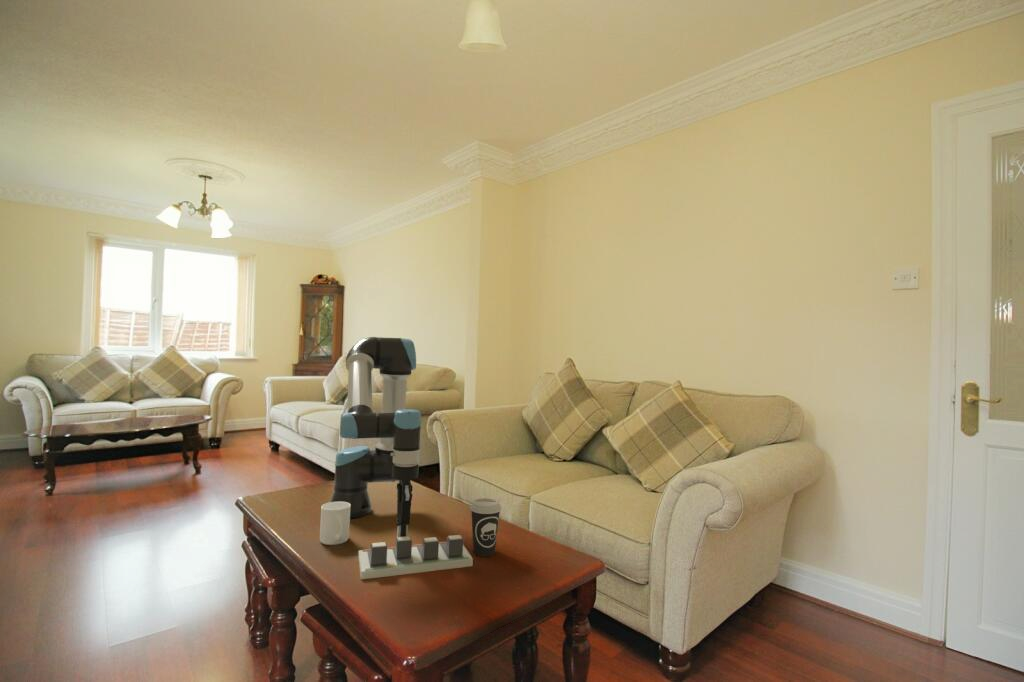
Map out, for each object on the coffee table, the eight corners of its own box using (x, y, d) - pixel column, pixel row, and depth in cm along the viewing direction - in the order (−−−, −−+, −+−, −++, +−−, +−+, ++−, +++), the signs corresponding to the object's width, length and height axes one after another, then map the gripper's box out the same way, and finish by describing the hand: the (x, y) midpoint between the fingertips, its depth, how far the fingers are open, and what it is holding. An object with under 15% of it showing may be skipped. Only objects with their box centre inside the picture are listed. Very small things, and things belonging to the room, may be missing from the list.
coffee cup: (504, 548, 147) (506, 499, 148) (492, 560, 138) (495, 508, 139) (475, 543, 150) (477, 495, 151) (462, 555, 141) (465, 503, 142)
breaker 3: (421, 555, 134) (422, 538, 134) (435, 553, 135) (436, 536, 136) (423, 559, 131) (424, 542, 131) (438, 557, 133) (438, 540, 133)
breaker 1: (370, 560, 129) (370, 542, 129) (385, 559, 131) (386, 541, 131) (370, 565, 126) (371, 547, 126) (386, 563, 128) (387, 545, 128)
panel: (358, 557, 137) (358, 549, 137) (460, 546, 147) (460, 539, 147) (361, 579, 123) (361, 570, 124) (472, 566, 134) (472, 558, 134)
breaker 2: (395, 554, 134) (396, 536, 134) (409, 552, 136) (410, 535, 136) (396, 558, 131) (397, 540, 131) (411, 556, 133) (412, 539, 133)
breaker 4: (446, 552, 137) (447, 535, 137) (459, 551, 138) (460, 534, 138) (448, 556, 134) (449, 539, 134) (462, 555, 135) (463, 538, 135)
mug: (325, 551, 140) (327, 514, 140) (316, 538, 150) (318, 503, 150) (355, 546, 144) (356, 510, 145) (344, 533, 154) (346, 500, 155)
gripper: (389, 459, 142) (385, 539, 141) (395, 469, 130) (390, 557, 129) (415, 458, 145) (411, 537, 144) (422, 468, 133) (418, 554, 132)
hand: (401, 546), depth 136 cm, fingers closed
